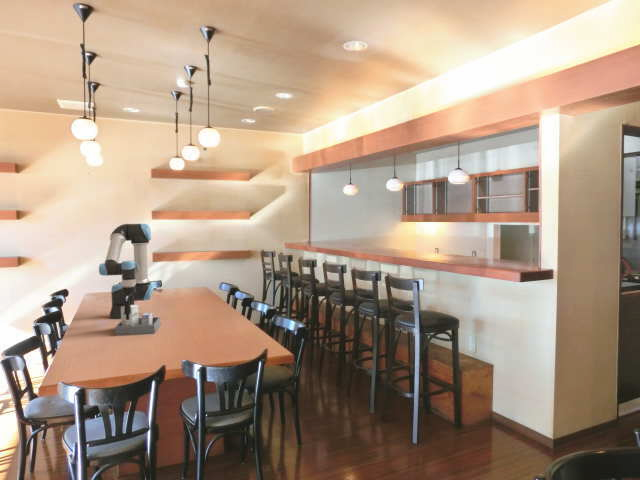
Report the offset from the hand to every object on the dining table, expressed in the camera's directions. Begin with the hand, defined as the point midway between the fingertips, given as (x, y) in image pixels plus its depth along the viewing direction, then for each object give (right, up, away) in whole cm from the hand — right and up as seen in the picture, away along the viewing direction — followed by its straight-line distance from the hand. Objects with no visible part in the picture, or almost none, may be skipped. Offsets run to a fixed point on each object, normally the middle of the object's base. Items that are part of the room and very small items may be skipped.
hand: (130, 322), depth 270 cm
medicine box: (+10, -4, +2) cm, 11 cm away
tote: (+5, -4, +1) cm, 7 cm away
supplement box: (0, -2, 0) cm, 2 cm away
